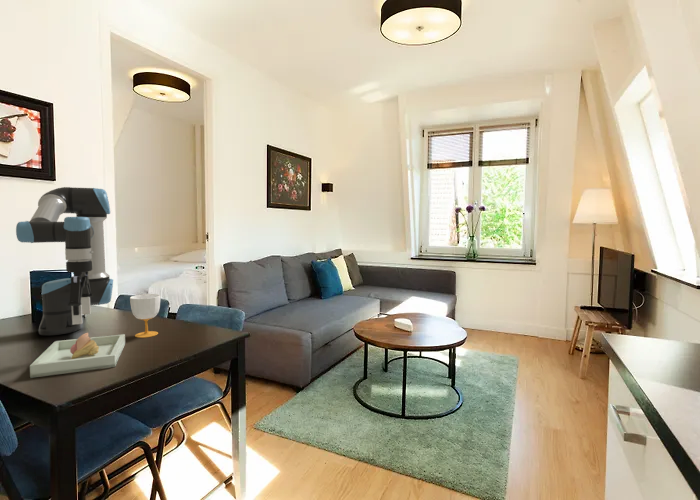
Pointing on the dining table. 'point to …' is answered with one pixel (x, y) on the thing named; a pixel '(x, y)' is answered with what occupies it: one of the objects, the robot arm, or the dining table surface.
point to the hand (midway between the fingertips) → (82, 319)
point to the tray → (61, 360)
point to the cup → (145, 310)
